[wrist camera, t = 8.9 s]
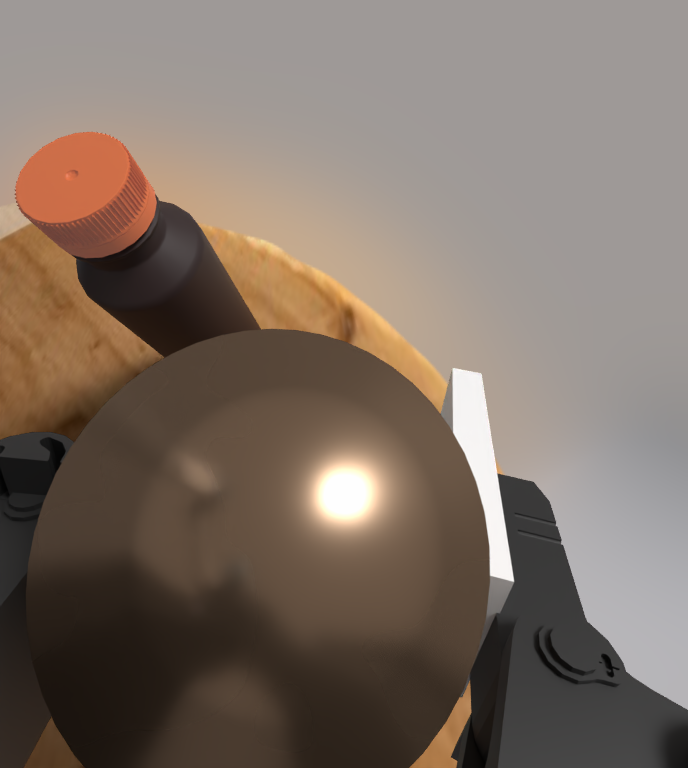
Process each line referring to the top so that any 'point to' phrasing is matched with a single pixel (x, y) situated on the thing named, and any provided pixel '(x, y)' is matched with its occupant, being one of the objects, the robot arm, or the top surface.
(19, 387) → the top surface
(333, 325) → the top surface
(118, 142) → the vinegar
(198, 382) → the plunger
